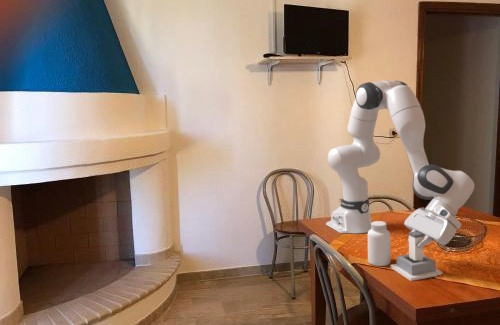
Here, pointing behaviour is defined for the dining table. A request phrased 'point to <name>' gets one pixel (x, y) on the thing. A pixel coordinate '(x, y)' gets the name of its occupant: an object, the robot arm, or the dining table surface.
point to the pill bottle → (379, 244)
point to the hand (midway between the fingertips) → (414, 245)
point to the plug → (414, 251)
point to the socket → (416, 267)
